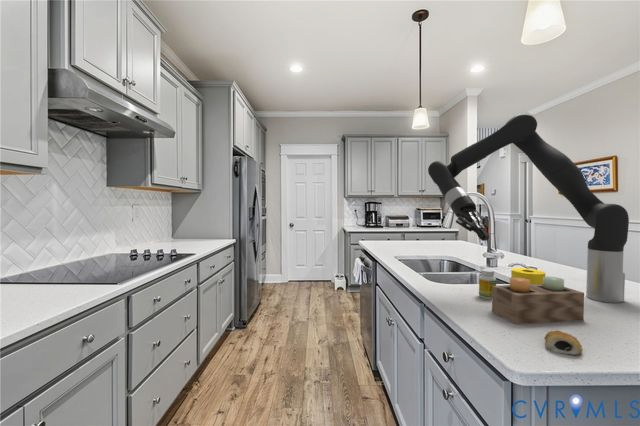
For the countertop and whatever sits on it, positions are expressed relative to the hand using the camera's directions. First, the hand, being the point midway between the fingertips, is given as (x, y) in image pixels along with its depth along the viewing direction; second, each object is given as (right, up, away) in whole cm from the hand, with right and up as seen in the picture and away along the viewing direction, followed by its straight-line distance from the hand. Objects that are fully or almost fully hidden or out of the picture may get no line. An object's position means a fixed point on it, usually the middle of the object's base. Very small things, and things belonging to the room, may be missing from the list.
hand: (486, 239), depth 103 cm
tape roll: (+19, -22, +8) cm, 30 cm away
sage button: (+14, -14, -10) cm, 23 cm away
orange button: (+4, -14, -12) cm, 19 cm away
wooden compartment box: (+9, -22, -11) cm, 26 cm away
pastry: (+1, -23, -31) cm, 38 cm away
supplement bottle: (+5, -22, +8) cm, 23 cm away
